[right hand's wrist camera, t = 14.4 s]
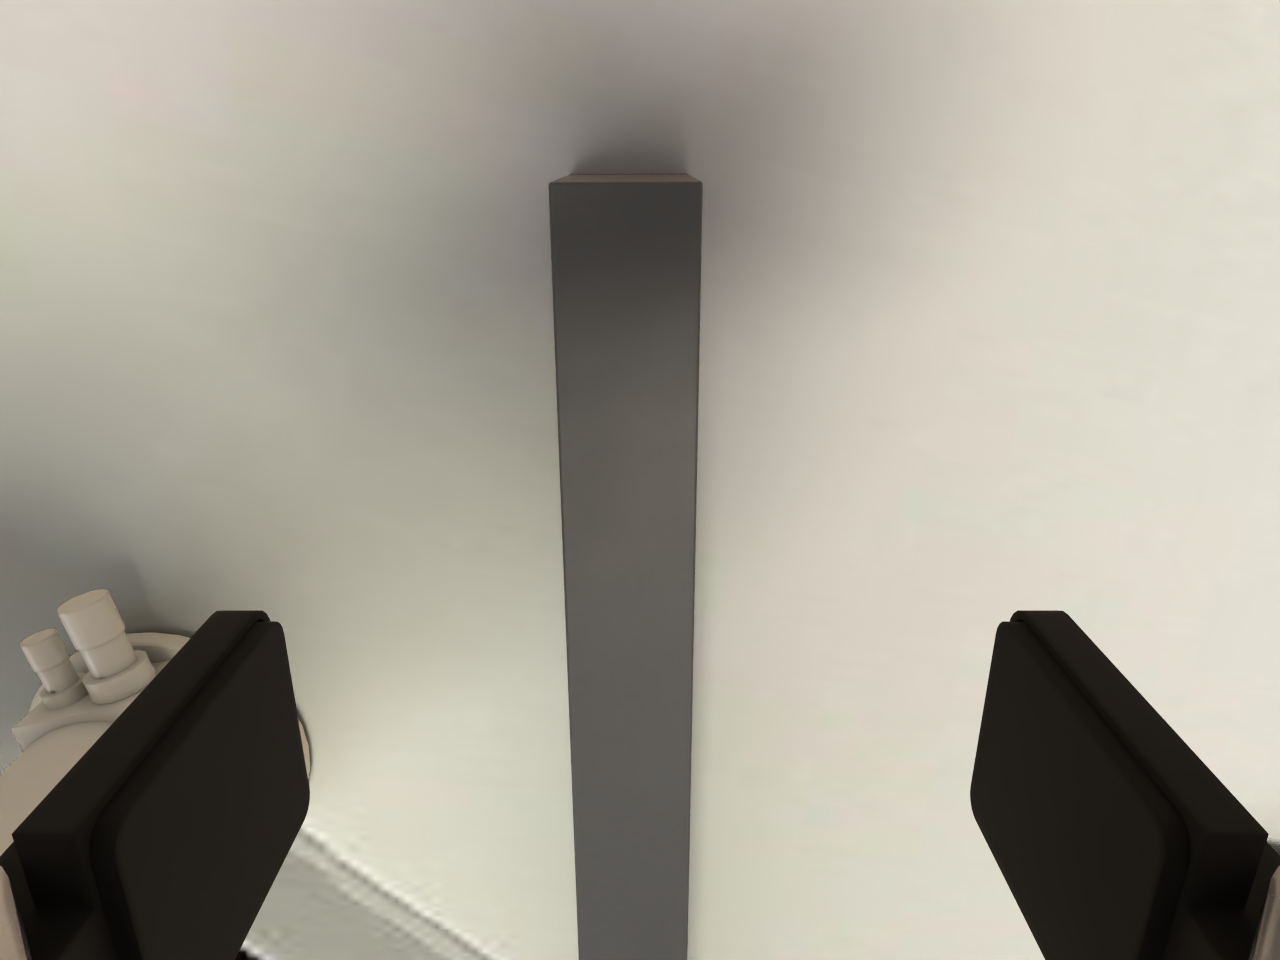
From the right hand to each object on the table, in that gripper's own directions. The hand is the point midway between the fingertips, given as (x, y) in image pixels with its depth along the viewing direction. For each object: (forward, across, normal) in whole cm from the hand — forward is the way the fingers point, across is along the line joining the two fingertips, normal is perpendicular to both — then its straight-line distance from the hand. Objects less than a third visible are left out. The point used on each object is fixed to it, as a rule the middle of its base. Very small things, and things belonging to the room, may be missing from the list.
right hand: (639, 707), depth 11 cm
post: (+25, 0, -31) cm, 40 cm away
